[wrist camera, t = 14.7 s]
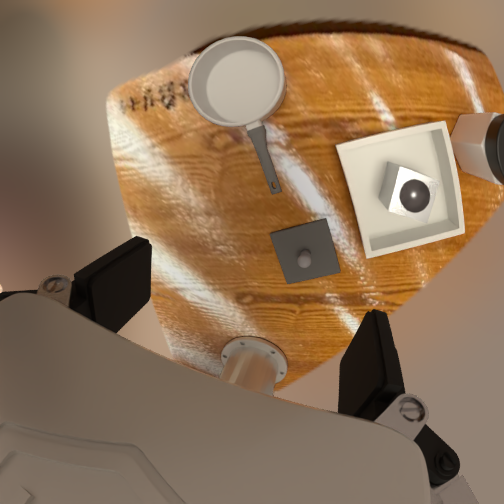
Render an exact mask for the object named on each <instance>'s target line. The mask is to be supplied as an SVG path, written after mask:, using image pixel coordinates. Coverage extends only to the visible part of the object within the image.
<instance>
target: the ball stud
mask: <svg viewBox="0 0 504 504" xmlns="http://www.w3.org/2000/svg"><path fill="white" fill-rule="evenodd" d="M270 237H271V239H272V242H273V245H274V248H275V251H276V253H277V256H278V259H279V262H280V265H281V267H282V270H283V273H284V276H285V279H286V282H287V284H290V283H295V282H300V281H304V280H309V279H314V278H318V277H323V276H327V275H332V274H336V273H340V267H339V263H338V260H337V256H336V252H335V248H334V244H333V241H332V237H331V234H330V230H329V227H328V223H327V220H326V218H325V219H321V220H317V221H313V222H310V223H306V224H302V225H298V226H295V227H291V228H287V229H283V230H280V231H276V232H272V233H270Z"/></svg>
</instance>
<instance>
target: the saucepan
mask: <svg viewBox="0 0 504 504" xmlns="http://www.w3.org/2000/svg"><path fill="white" fill-rule="evenodd" d="M286 87H287V85H286V77H285V74H284V69H283V66H282V63H281V61H280V59H279V57H278V56H277V54H276V53H275V52H274V51H273V50H272V49H271V47H269V46H268V45H266V44H265V43H263V42H262V41H259V40H257V39H254V38H250V37H238V36H235V37H230V38H225V39H222V40H220V41H217V42H215V43H214V44H212V45H210V46H209V47H207V48H206V49H205V50H204V51H203V52H202V53H201V54H200V55H199V56H198V58H197V59H196V60H195V62H194V64H193V66H192V68H191V71H190V74H189V79H188V92H189V96H190V100H191V102H192V104H193V106H194V107H195V109H196V110H197V111H198V113H199V114H200V115H202V116H203V117H204V118H205V119H206V120H208V121H210V122H212V123H214V124H217V125H221V126H227V127H237V126H244V125H245V126H246V129H247V133H248V136H249V137H250V138H251V140H252V142H253V145H254V147H255V149H256V151H257V154H258V157H259V160H260V162H261V165H262V168H263V171H264V173H265V176H266V179H267V182H268V185H269V188H270V190H271V193H272V194H276V193H279V192H282V190H281V187H280V184H279V181H278V178H277V175H276V172H275V169H274V166H273V163H272V160H271V158H270V155H269V152H268V149H267V142H266V130H265V127H264V126H263V125H262V122H261V121H263V120H265V119H267V118H268V117H270V116H271V115H272V114H273V113H274V112H275V111H276V110H277V109H278V108H279V107H280V105H281V103H282V102H283V99H284V97H285V94H286ZM272 182H274V183H275V184H276V188H274V187H273V185H272Z"/></svg>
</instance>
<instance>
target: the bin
mask: <svg viewBox="0 0 504 504" xmlns="http://www.w3.org/2000/svg"><path fill="white" fill-rule="evenodd" d="M335 147H336V150H337V153H338V156H339V159H340V162H341V165H342V168H343V172H344V175H345V178H346V182H347V185H348V188H349V192H350V196H351V199H352V203H353V207H354V210H355V214H356V218H357V222H358V226H359V230H360V234H361V239H362V243H363V247H364V251H365V254H366V258H367V259H368V258H372V257H376V256H380V255H384V254H388V253H392V252H396V251H400V250H404V249H407V248H411V247H415V246H419V245H423V244H427V243H430V242H434V241H438V240H441V239H445V238H449V237H452V236H456V235H459V234H463V233H465V227H464V216H463V207H462V199H461V192H460V185H459V179H458V174H457V168H456V163H455V158H454V154H453V149H452V145H451V141H450V137H449V133H448V129H447V126H446V122H445V121H436V122H429V123H424V124H418V125H414V126H409V127H404V128H399V129H395V130H390V131H386V132H382V133H378V134H373V135H369V136H365V137H361V138H358V139H354V140H350V141H346V142H342V143H339V144H335ZM387 161H389V162H392V163H395V164H398V165H401V166H404V167H407V168H410V169H412V170H415V171H418V172H421V173H423V174H425V175H428V176H430V177H432V178H434V179H436V180H438V181H440V182H439V186H438V189H437V193H436V196H435V200H434V203H433V207H432V210H431V213H430V216H429V219H428V222H427V223H424V222H421V221H418V220H415V219H412V218H409V217H405V216H402V215H399V214H396V213H393V212H389V211H388V210H387V209H386V208H385V206H384V205H383V204H382V202H381V201H380V200H379V199H378V197H379V193H380V190H381V186H382V182H383V178H384V174H385V170H386V166H387Z"/></svg>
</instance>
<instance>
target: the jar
mask: <svg viewBox="0 0 504 504" xmlns="http://www.w3.org/2000/svg"><path fill="white" fill-rule="evenodd" d="M450 141H451V145H452V149H453V152H454V154H455V156H456V159H457V161H458V163H459V165H460V168H461V170H462V171H463V172H466V173H468V174H471V175H474V176H477V177H479V178H482V179H485V180H487V181H490V182H492V183H495V184H500V185H504V114H499V113H495V112H490V113H474V114H462V115H460V116H459V118H458V120H457V123H456V125H455V127H454V130H453V132H452V134H451V136H450Z"/></svg>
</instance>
